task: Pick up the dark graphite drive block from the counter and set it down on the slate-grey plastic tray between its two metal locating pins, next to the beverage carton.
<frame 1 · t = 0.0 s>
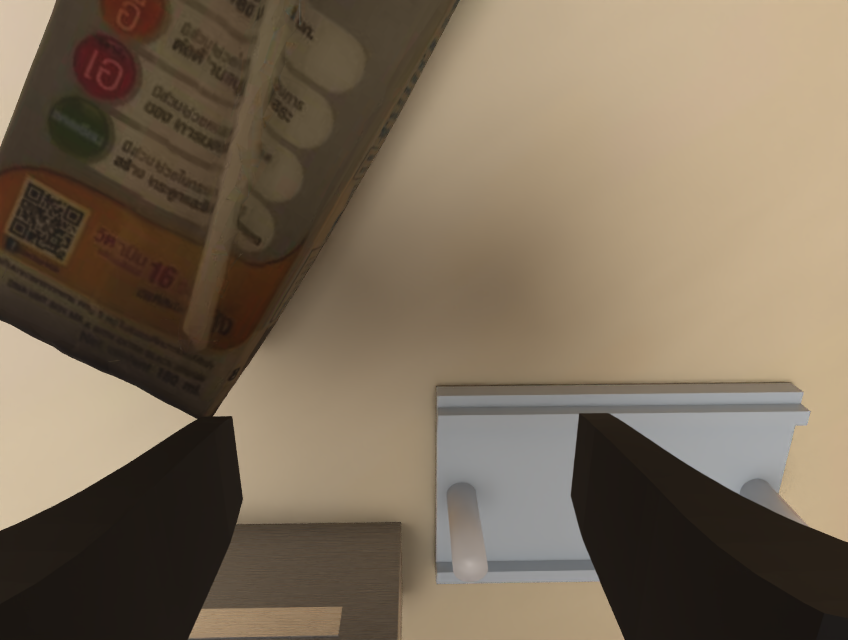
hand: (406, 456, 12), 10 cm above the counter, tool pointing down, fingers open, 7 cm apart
tray: (602, 481, 25), on the counter
drive: (299, 559, 26), on the counter
beverage carton: (283, 65, 19), on the counter
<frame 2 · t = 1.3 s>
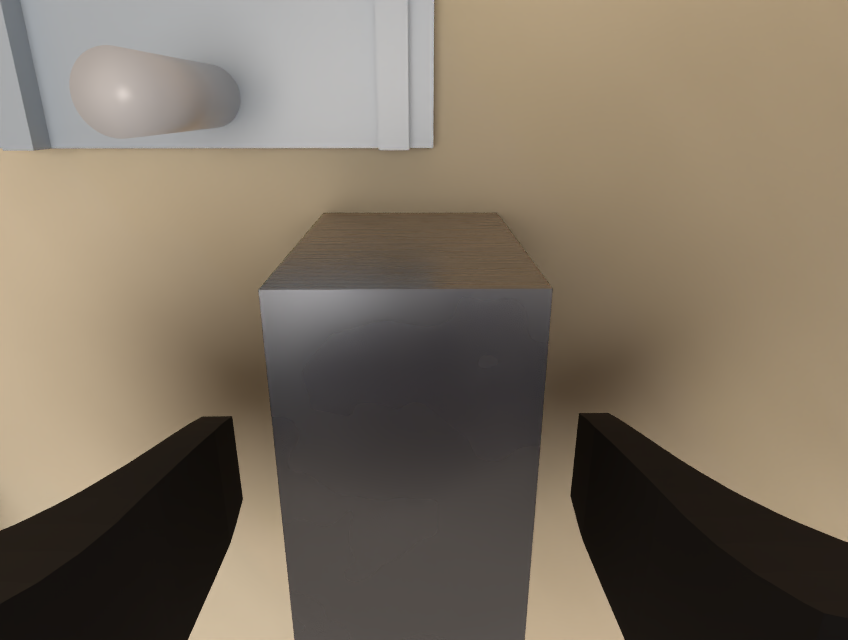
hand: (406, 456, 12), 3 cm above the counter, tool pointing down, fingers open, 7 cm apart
drive: (411, 386, 15), on the counter
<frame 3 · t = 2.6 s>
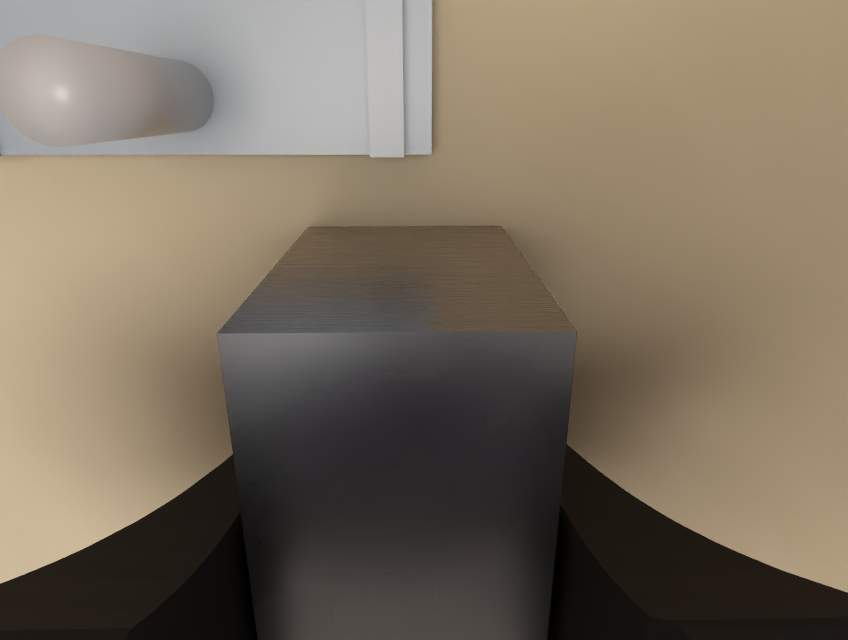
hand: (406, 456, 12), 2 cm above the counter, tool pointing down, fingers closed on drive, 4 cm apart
drive: (407, 417, 14), on the counter, touching gripper
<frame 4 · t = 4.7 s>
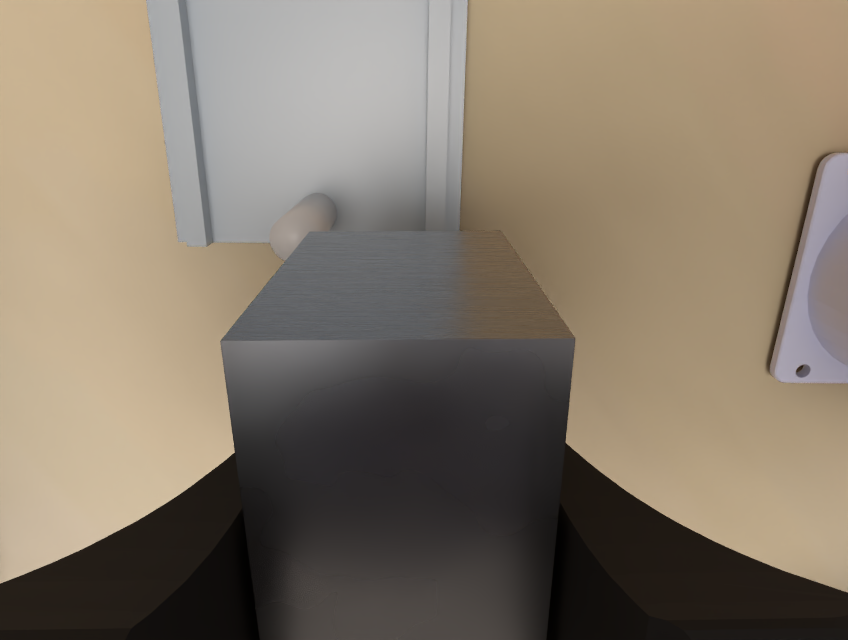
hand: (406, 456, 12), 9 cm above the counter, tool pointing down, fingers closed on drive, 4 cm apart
tray: (312, 2, 17), on the counter
drive: (407, 420, 14), point 7 cm above the counter, touching gripper
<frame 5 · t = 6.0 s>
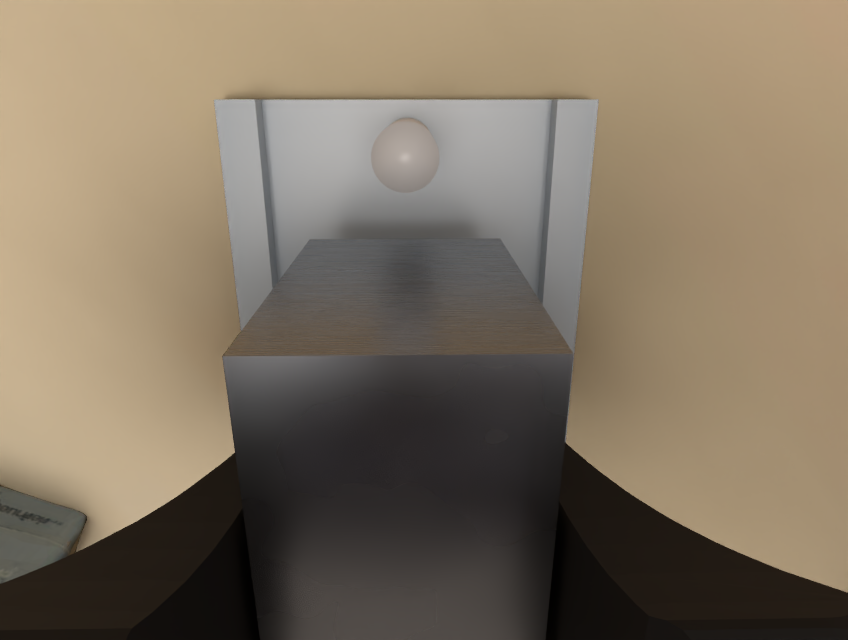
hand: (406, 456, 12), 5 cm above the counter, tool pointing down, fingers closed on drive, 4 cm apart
tray: (410, 359, 17), on the counter
drive: (407, 425, 14), point 3 cm above the counter, touching gripper
when the fingers open (4 cm above the counter, at t = 7.1 s): drive drops 1 cm, resting on tray.
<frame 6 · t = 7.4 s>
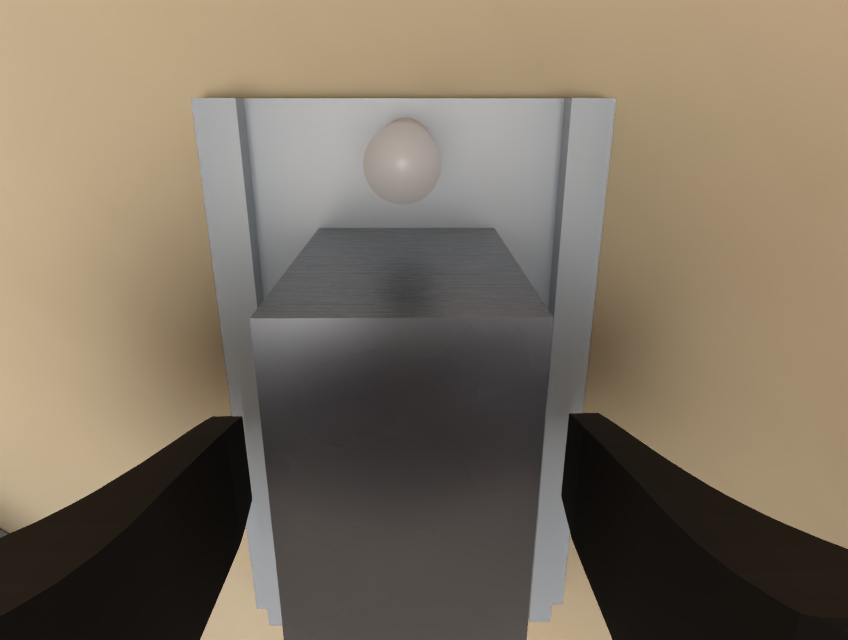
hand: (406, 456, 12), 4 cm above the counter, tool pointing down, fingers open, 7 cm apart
tray: (408, 380, 16), on the counter
drive: (408, 403, 15), point 1 cm above the counter, touching tray
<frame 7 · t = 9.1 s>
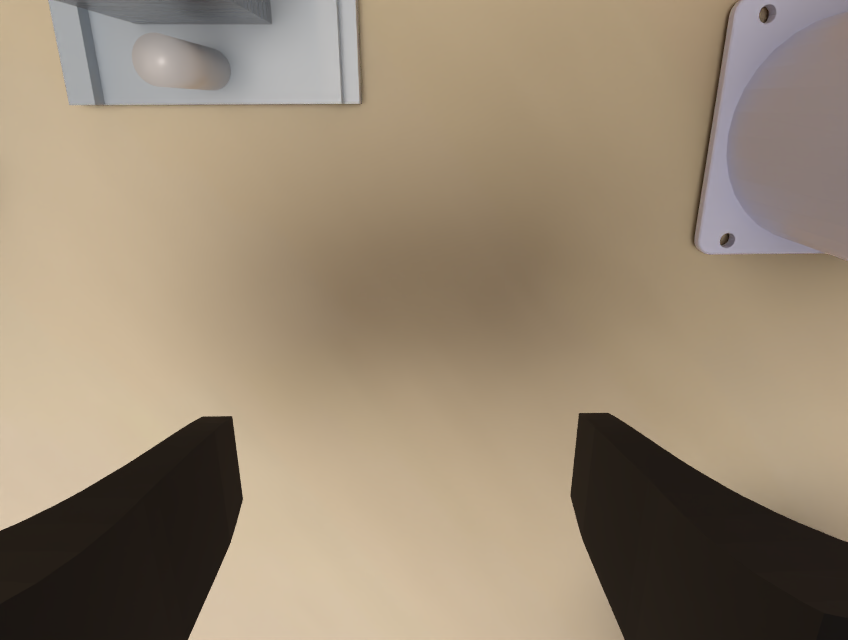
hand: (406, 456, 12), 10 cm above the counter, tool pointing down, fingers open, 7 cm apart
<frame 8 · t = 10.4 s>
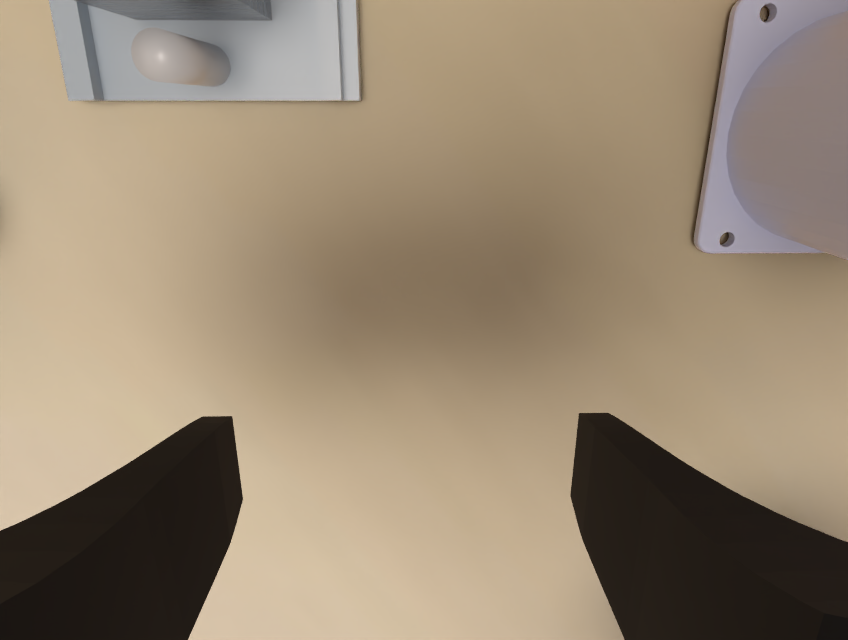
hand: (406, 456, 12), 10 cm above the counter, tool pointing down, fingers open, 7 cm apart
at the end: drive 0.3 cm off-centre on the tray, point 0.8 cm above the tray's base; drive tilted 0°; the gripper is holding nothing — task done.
